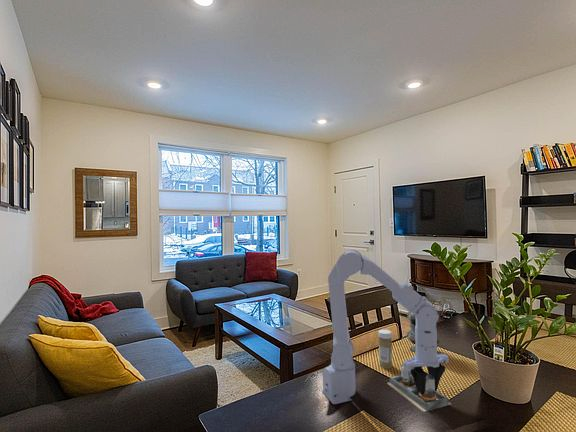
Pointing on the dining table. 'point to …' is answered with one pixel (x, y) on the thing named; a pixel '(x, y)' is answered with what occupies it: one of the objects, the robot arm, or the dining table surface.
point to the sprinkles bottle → (385, 349)
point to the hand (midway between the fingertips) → (426, 390)
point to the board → (417, 395)
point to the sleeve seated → (406, 378)
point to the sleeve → (429, 389)
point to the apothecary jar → (412, 330)
